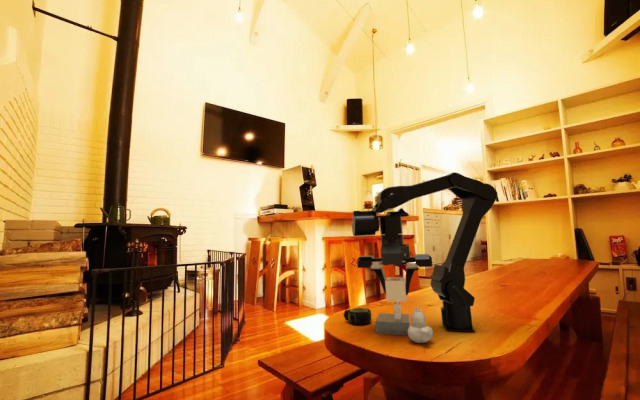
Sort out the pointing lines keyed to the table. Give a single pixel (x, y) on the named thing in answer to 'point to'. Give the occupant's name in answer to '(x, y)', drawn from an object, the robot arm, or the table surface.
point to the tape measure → (358, 315)
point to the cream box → (395, 289)
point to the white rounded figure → (419, 328)
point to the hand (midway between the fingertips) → (396, 294)
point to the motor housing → (393, 322)
